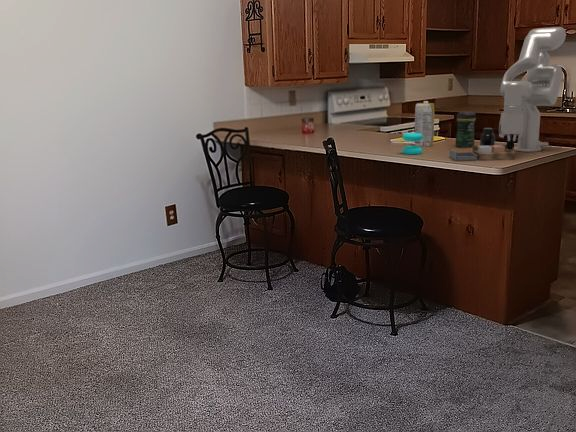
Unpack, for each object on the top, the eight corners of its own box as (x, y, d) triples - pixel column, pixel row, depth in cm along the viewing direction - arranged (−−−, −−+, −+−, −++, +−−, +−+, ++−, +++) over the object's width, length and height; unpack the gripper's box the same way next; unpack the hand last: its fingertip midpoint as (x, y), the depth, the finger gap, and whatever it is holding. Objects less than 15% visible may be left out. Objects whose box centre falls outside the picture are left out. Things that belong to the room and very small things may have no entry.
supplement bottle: (477, 152, 291) (478, 128, 288) (483, 151, 296) (485, 127, 293) (490, 154, 286) (491, 129, 283) (496, 152, 291) (498, 128, 288)
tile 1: (488, 150, 277) (488, 145, 277) (491, 152, 273) (491, 147, 272) (477, 151, 278) (477, 145, 277) (480, 152, 273) (481, 147, 272)
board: (505, 155, 281) (506, 144, 280) (514, 159, 270) (515, 148, 268) (472, 156, 282) (472, 146, 281) (479, 160, 270) (479, 149, 269)
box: (470, 156, 282) (470, 148, 281) (477, 160, 270) (477, 151, 269) (449, 157, 282) (449, 148, 281) (455, 161, 271) (456, 152, 270)
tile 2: (501, 150, 277) (501, 145, 277) (504, 152, 272) (505, 146, 272) (490, 150, 277) (490, 145, 277) (493, 152, 273) (494, 147, 272)
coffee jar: (464, 148, 307) (465, 112, 302) (452, 146, 314) (454, 111, 309) (477, 146, 312) (478, 111, 307) (465, 144, 318) (467, 110, 313)
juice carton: (434, 144, 323) (435, 100, 316) (429, 146, 316) (430, 101, 310) (418, 144, 328) (419, 100, 322) (413, 146, 321) (413, 101, 315)
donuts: (411, 132, 301) (427, 133, 294) (411, 151, 304) (426, 153, 296) (398, 134, 296) (413, 135, 288) (398, 153, 298) (412, 155, 290)
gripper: (525, 108, 273) (523, 147, 278) (493, 109, 274) (491, 148, 278) (531, 109, 266) (529, 150, 271) (498, 111, 266) (496, 151, 271)
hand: (509, 149), depth 274 cm, fingers closed
